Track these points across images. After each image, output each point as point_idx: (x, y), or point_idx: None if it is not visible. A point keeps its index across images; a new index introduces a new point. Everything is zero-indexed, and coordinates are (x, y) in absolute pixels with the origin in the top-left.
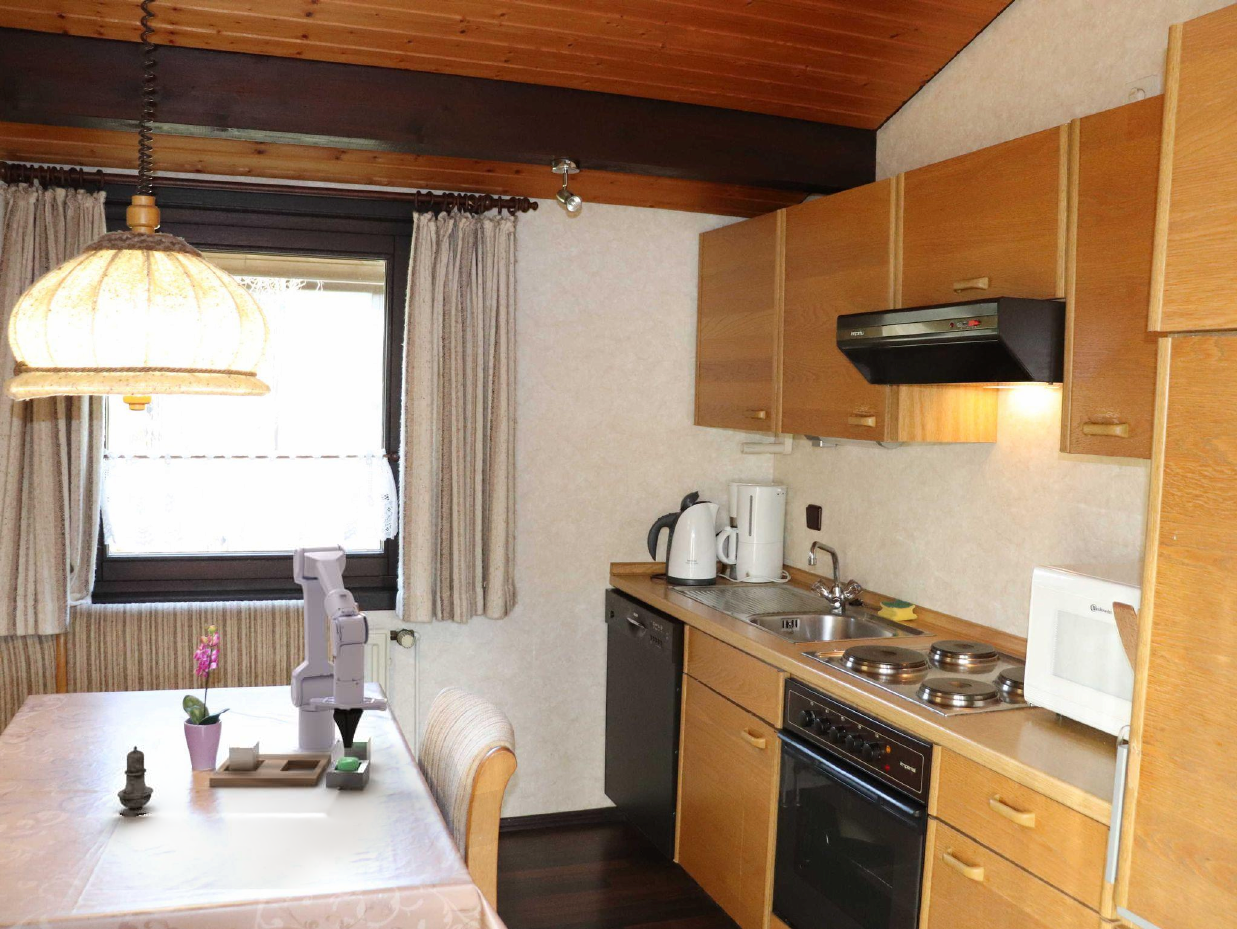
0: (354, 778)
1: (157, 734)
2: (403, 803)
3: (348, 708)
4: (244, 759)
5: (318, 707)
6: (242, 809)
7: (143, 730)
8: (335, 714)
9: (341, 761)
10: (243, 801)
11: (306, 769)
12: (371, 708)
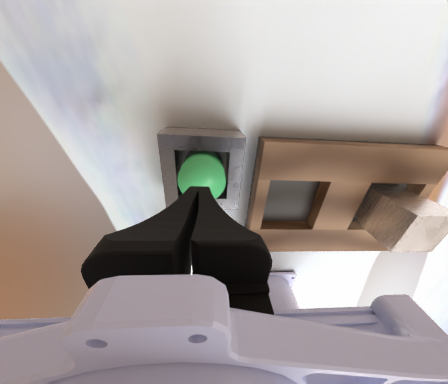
0: (180, 132)
1: (424, 306)
2: (36, 23)
3: (102, 282)
4: (406, 200)
5: (366, 323)
6: (416, 10)
7: (433, 312)
8: (256, 268)
9: (216, 176)
10: (399, 72)
11: (279, 215)
12: (17, 331)
